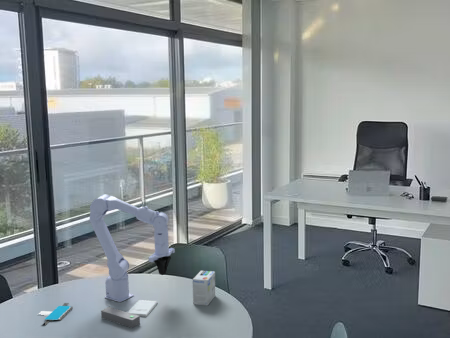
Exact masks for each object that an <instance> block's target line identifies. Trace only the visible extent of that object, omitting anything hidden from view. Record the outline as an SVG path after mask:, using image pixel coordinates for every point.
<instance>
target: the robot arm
mask: <svg viewBox="0 0 450 338" xmlns="http://www.w3.org/2000/svg"><path fill="white" fill-rule="evenodd" d="M114 210H118V211H122V212H125V213H128V214H130V215H132V216H135V218H136V220H139V221H141V222H142V223H146V224H148V225H151V226H153V228H154V233H153V235H154V252H153V253H152V254H150V255H149V256H148V257H147V258H148V263H155V265H156V266H155V267H156V268H157V270H158V274H159V275H161V276H164V275H166V274H167V271H168V267H169V263H170V262H171V259H172V256H171V255H172V254H174V253H176V251H175V249H176V248H173V247H169V245H170V244H169V242H170V241H169V228H168V223H169V216H168V214H167V213H165V212H163V211H160V212H159V211H158V210H156V211H155V210H154V209H150V208H149V206H147V205H144V206H140V207H137V206H135V205H133V204H131V203H128V202H126V201H123V200H122V199H119V198H117V196H116V197H115V196H114V195H110V194H105V193H103V194H101V195H100V196H99V197H97V198H95V199H94V200H93V201H92V202H91V203H90V206H89V211H90V212H89V223H90V225H91V227H92V230H93V231H94V233H95V235H96V238H97V240H98V242H99V245H100V246H101V248H102V250H103V252H104V255H105V257H106V261H107V268H108V277H107V278H106V280H105V296H104V298H105V299H108V300H110V301H111V300H112V301H116V302H118V303H121V302H124V301H125V300H128V299H131V297H134V294H133V293H130V287H129V283H130V282H129V274H128V271H129V270H130V269H129V268H130V263H129V261H128V260H127V259H126V258H125V257H124V256H123V254H122V253H120V252H119V249H118V248H117V246H116V243H115V242H114V239H113V237H112V234H111V233H110V230H109V228H108V226H107V223H106V222H105V220H104V219H105V217H106V214H107V212H109V211H114Z"/></svg>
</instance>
